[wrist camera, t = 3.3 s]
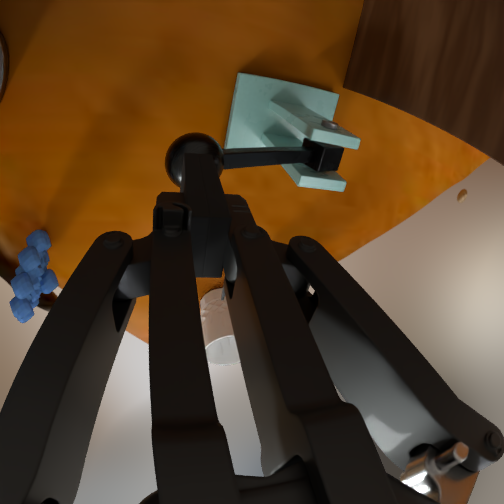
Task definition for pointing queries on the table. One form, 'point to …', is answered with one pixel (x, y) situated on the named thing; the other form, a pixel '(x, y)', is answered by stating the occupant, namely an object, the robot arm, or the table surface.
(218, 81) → the table surface
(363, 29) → the shelf block
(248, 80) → the mounting bracket
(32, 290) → the grapes
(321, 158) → the black knobbed rod
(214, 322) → the white cup
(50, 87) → the table surface
